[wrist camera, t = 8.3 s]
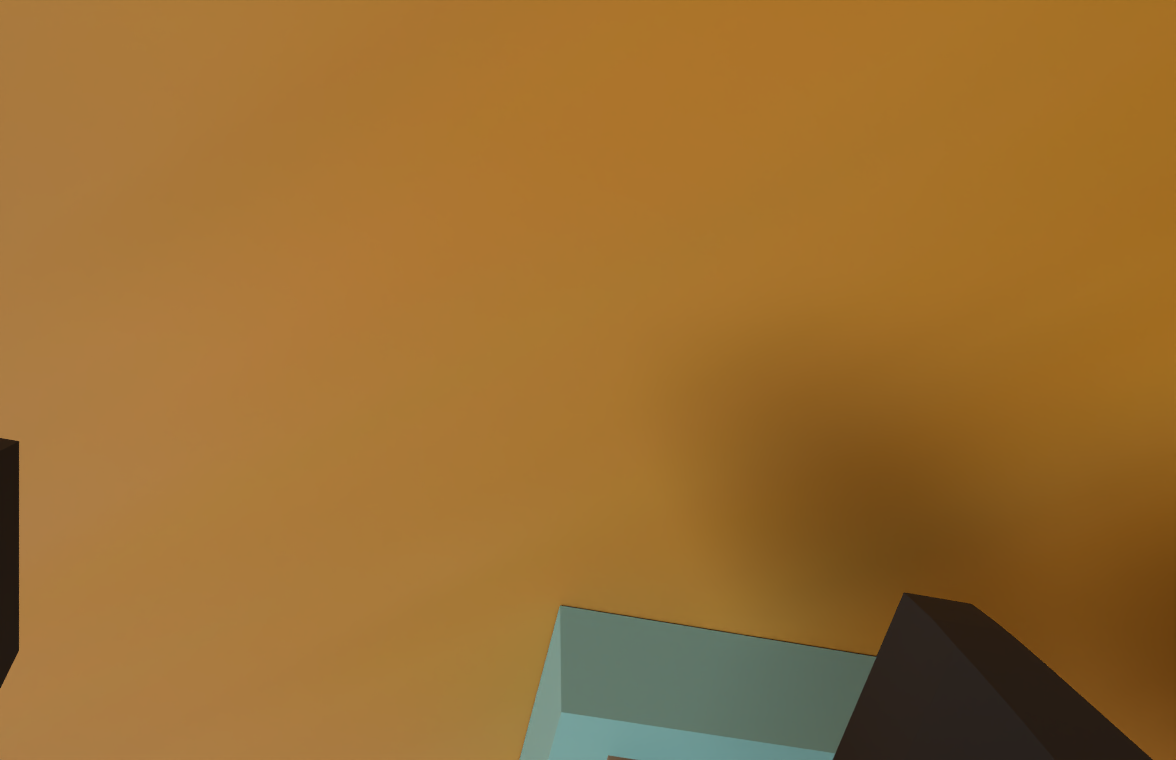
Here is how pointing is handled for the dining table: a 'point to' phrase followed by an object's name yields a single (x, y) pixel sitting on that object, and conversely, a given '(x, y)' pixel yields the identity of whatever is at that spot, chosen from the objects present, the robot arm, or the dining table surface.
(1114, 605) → the dining table surface
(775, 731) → the teal plinth
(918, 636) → the robot arm
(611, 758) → the walnut cube
